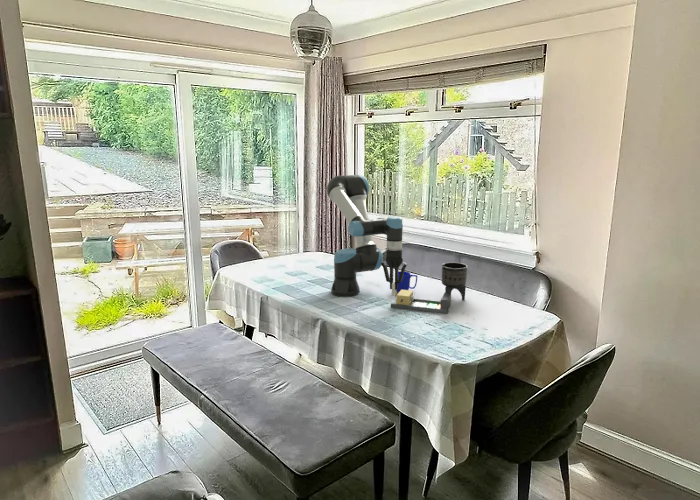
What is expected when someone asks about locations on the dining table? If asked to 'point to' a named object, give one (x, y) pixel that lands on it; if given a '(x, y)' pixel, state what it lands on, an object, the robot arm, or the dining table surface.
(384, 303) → the dining table surface
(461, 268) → the planter
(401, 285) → the mug
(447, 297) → the dark grey block
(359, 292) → the robot arm
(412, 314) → the dining table surface
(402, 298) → the block
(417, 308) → the tray
